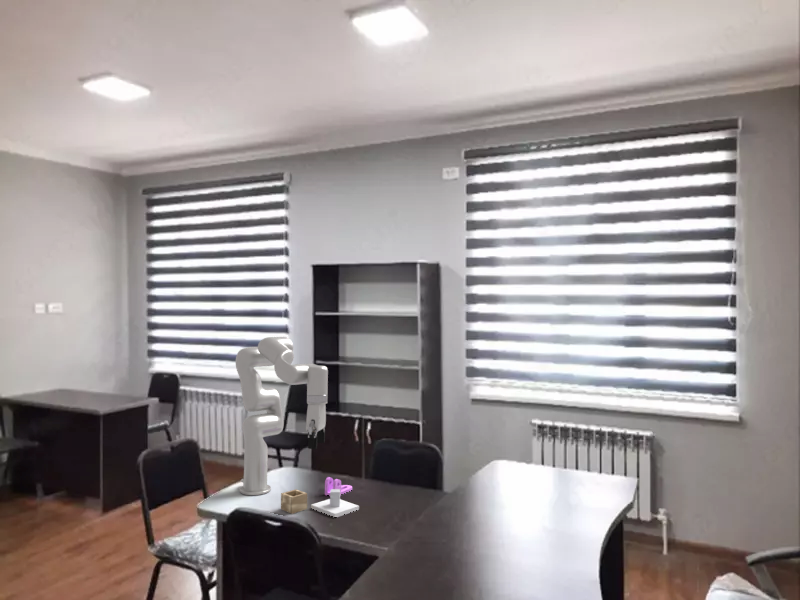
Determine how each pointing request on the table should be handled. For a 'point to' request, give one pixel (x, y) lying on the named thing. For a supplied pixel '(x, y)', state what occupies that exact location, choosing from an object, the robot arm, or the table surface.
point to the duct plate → (335, 510)
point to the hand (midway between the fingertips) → (316, 445)
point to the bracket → (336, 486)
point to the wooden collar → (294, 501)
